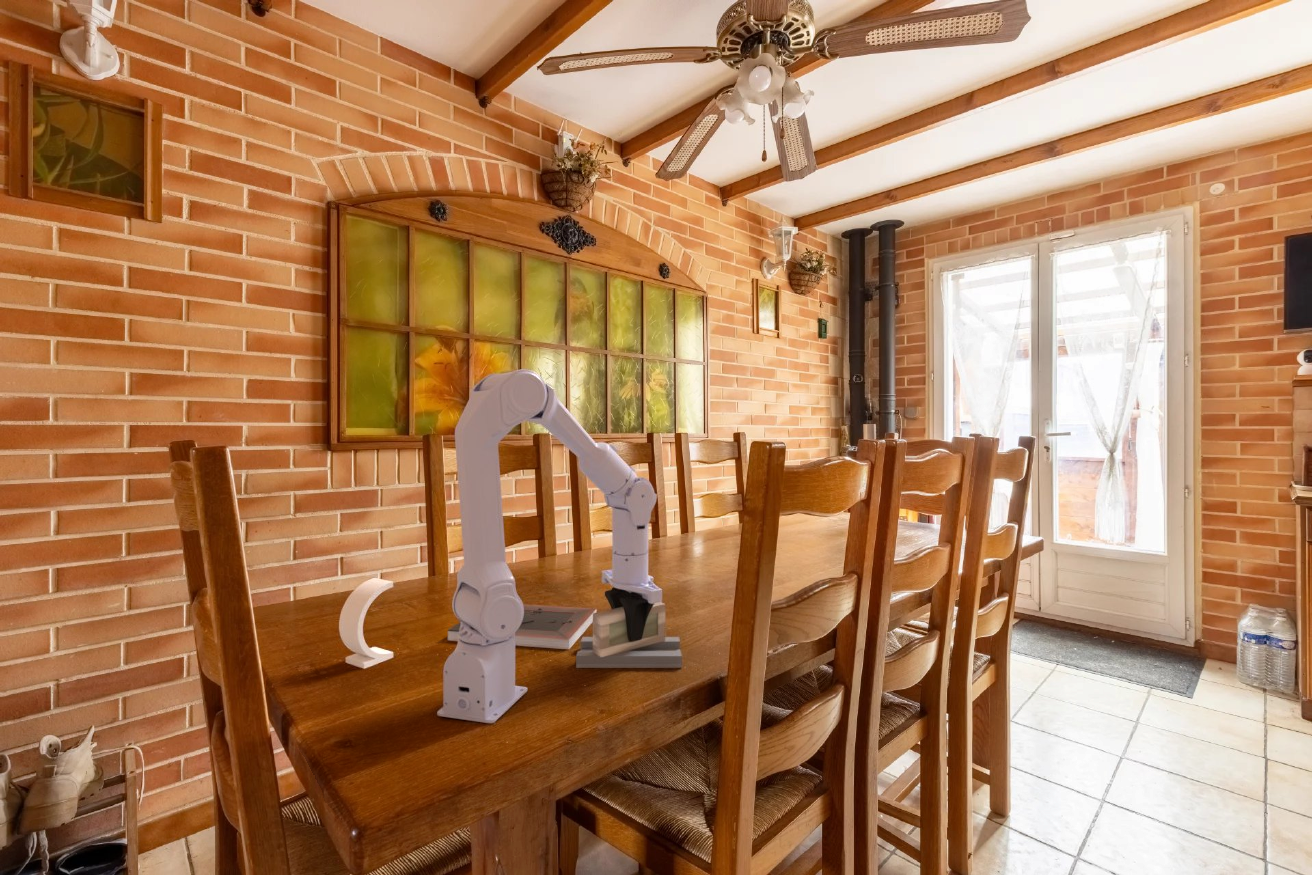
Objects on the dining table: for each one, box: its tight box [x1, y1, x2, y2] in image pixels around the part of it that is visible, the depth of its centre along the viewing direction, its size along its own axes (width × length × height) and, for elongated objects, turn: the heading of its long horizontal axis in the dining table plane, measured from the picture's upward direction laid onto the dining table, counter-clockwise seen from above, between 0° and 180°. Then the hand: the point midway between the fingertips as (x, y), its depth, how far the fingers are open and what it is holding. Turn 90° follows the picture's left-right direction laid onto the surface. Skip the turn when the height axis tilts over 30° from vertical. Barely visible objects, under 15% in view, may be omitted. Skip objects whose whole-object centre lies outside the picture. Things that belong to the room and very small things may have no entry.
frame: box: [592, 601, 666, 657], centre depth 92 cm, size 3×12×6 cm, turn 126°
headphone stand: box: [338, 577, 394, 670], centre depth 90 cm, size 5×6×12 cm
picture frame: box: [447, 603, 597, 650], centre depth 106 cm, size 16×2×22 cm
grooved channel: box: [575, 636, 683, 669], centre depth 92 cm, size 8×16×2 cm, turn 91°
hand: (629, 637), depth 92 cm, fingers closed on frame, 2 cm apart
